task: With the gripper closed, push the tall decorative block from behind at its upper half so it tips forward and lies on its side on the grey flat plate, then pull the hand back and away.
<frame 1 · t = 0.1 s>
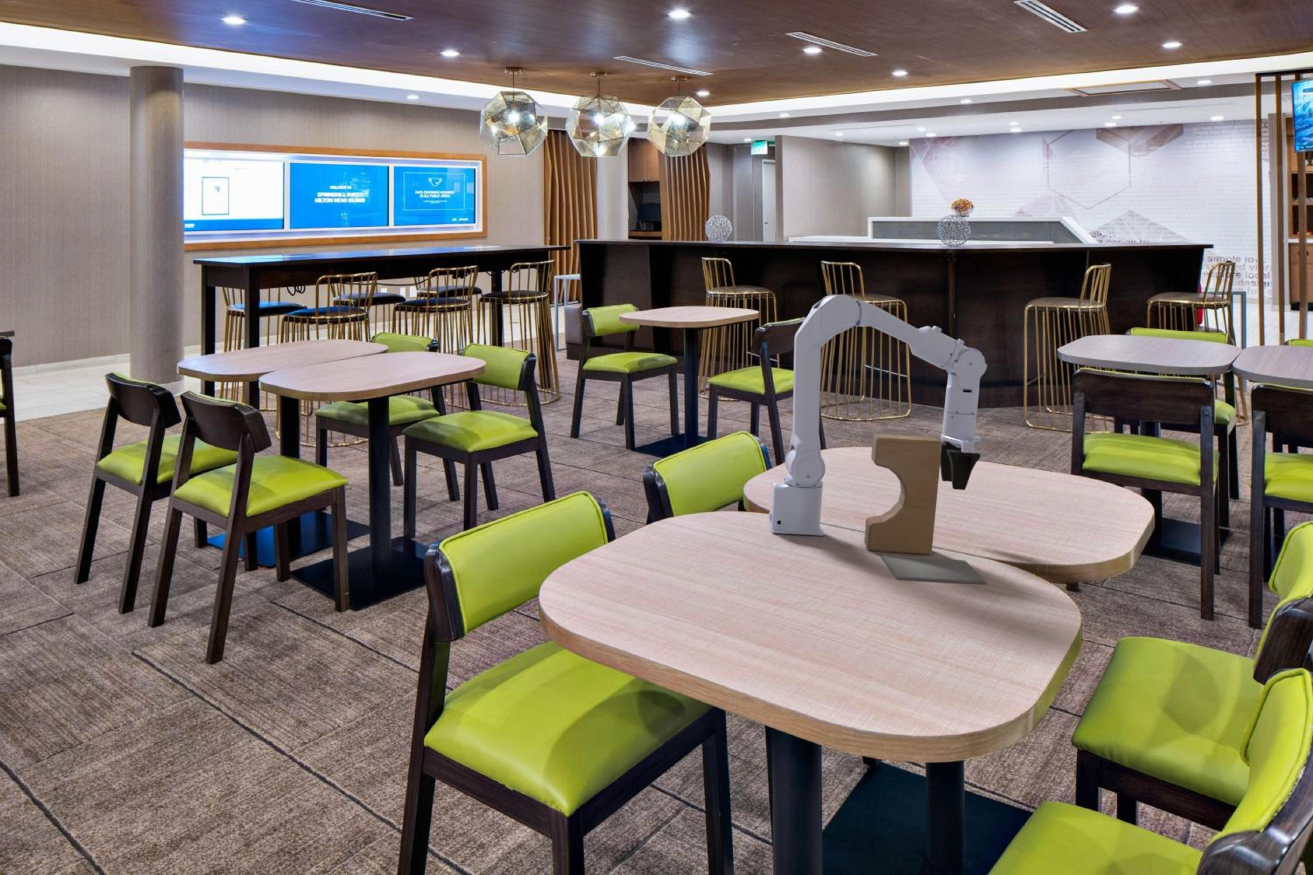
hand: (953, 485, 175), 10 cm above the table, tool pointing down, fingers open, 7 cm apart
decorative block: (897, 550, 166), on the table
grey flat plate: (932, 570, 154), on the table
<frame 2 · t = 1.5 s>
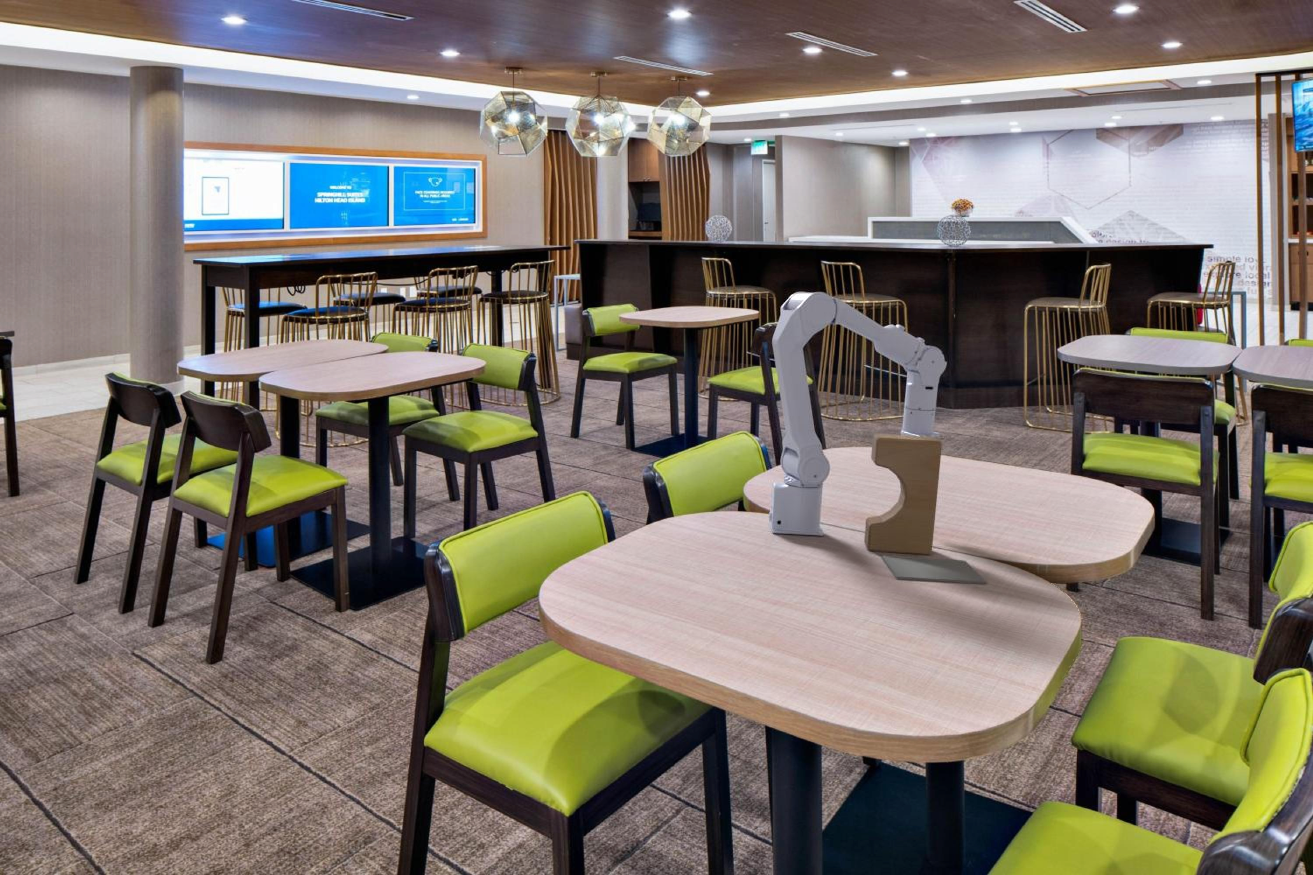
hand: (912, 479, 180), 10 cm above the table, tool pointing down, fingers closed
nothing on the table moved.
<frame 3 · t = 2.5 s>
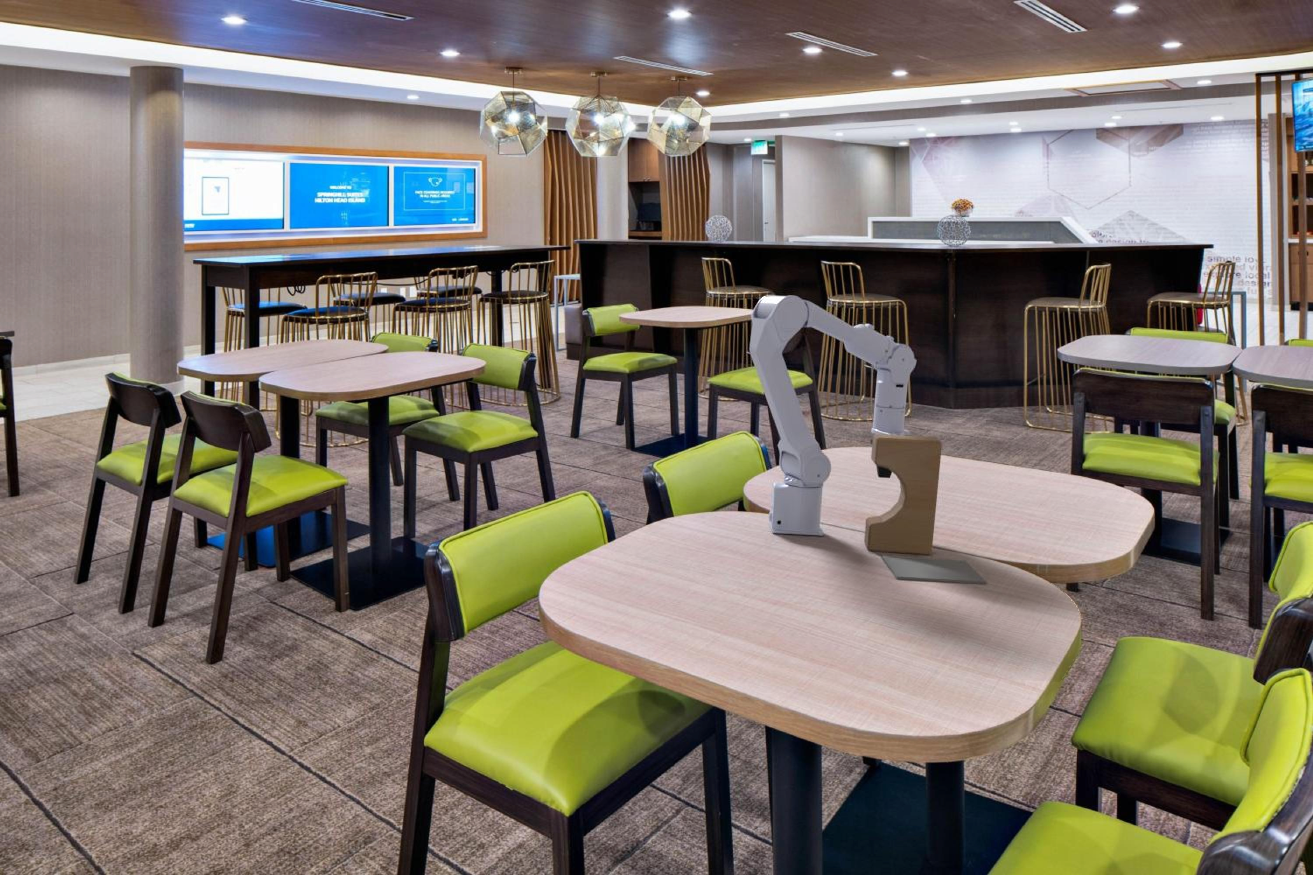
hand: (883, 477, 181), 10 cm above the table, tool pointing down, fingers closed
nothing on the table moved.
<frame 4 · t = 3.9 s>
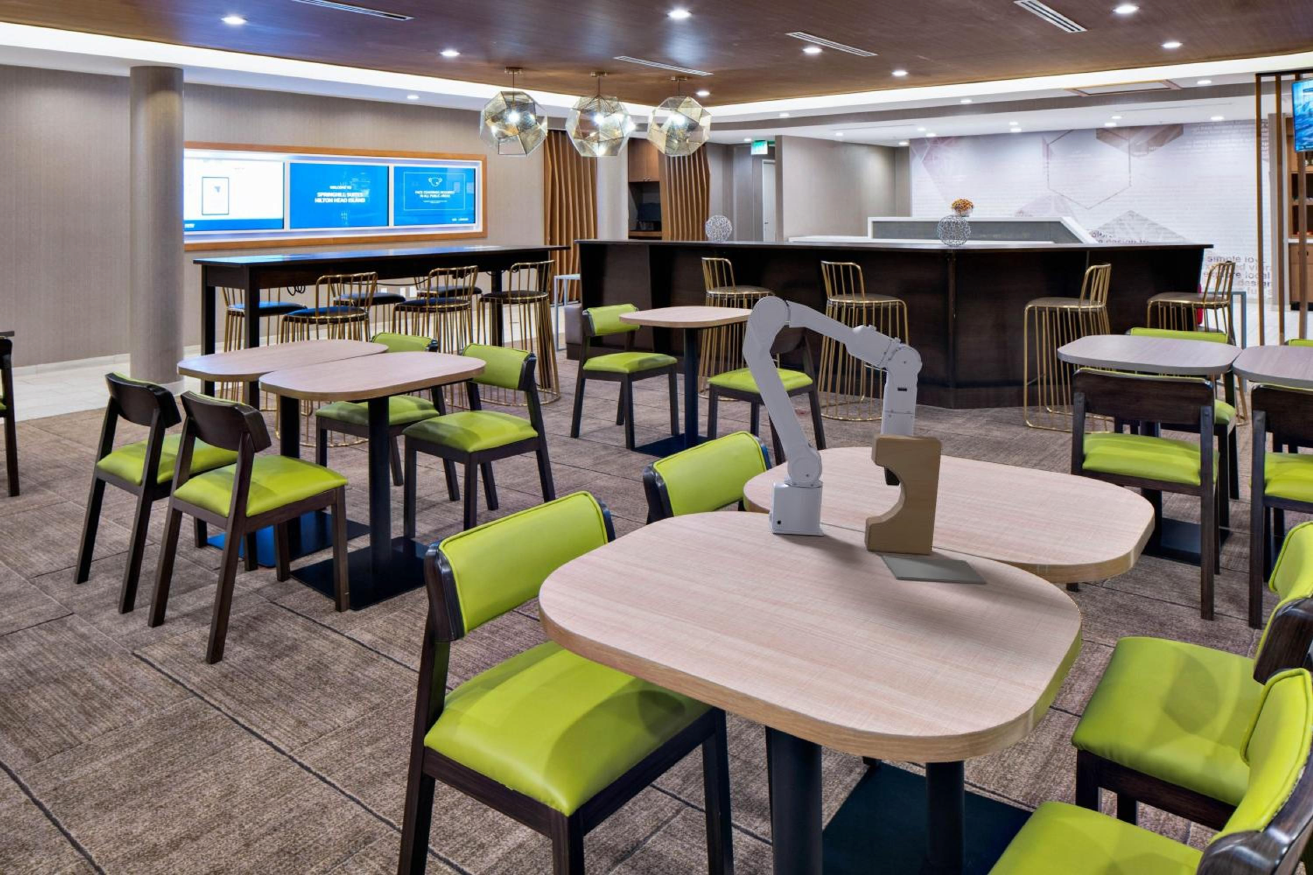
hand: (892, 485, 173), 10 cm above the table, tool pointing down, fingers closed
nothing on the table moved.
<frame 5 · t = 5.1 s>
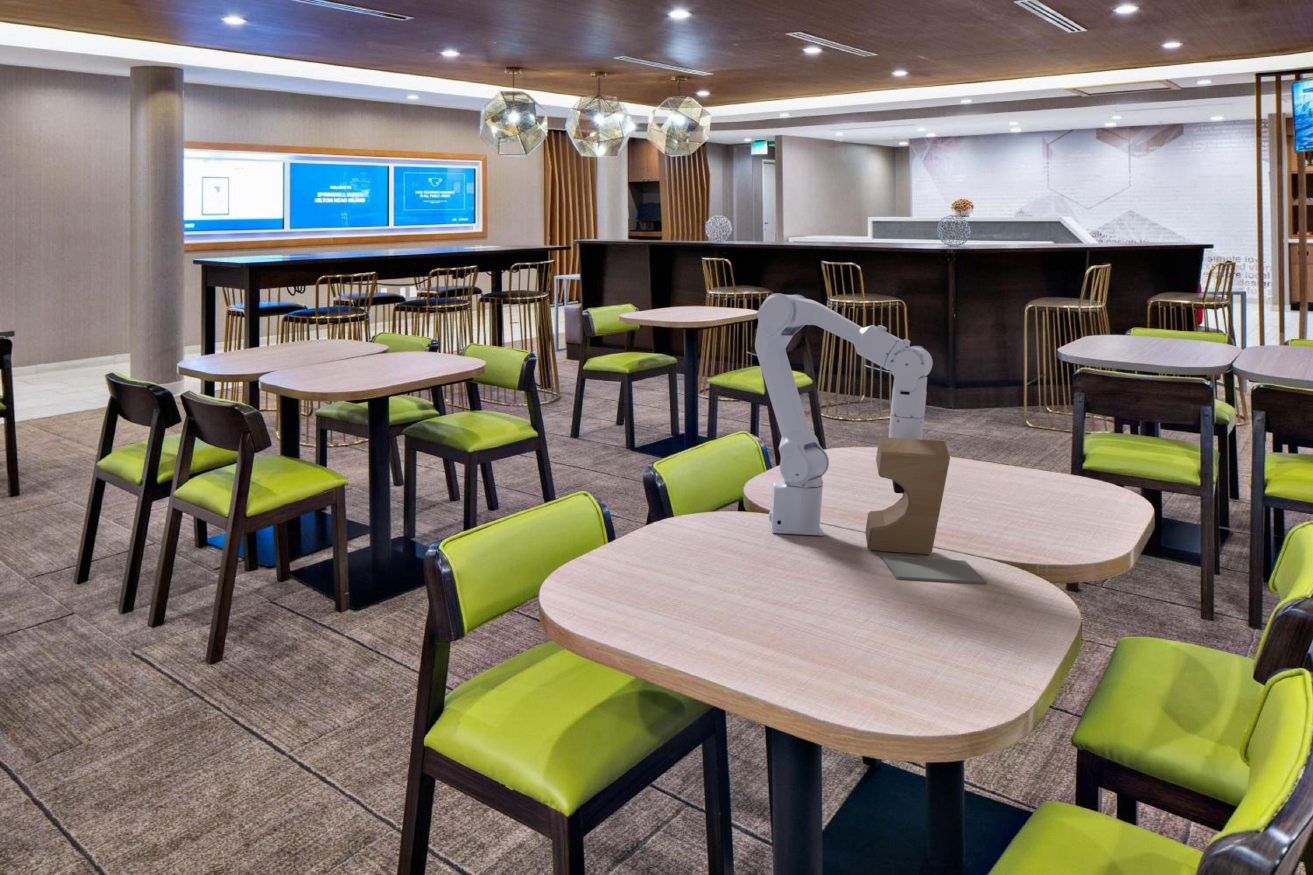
hand: (900, 492, 166), 10 cm above the table, tool pointing down, fingers closed
decorative block: (897, 544, 166), point 1 cm above the table
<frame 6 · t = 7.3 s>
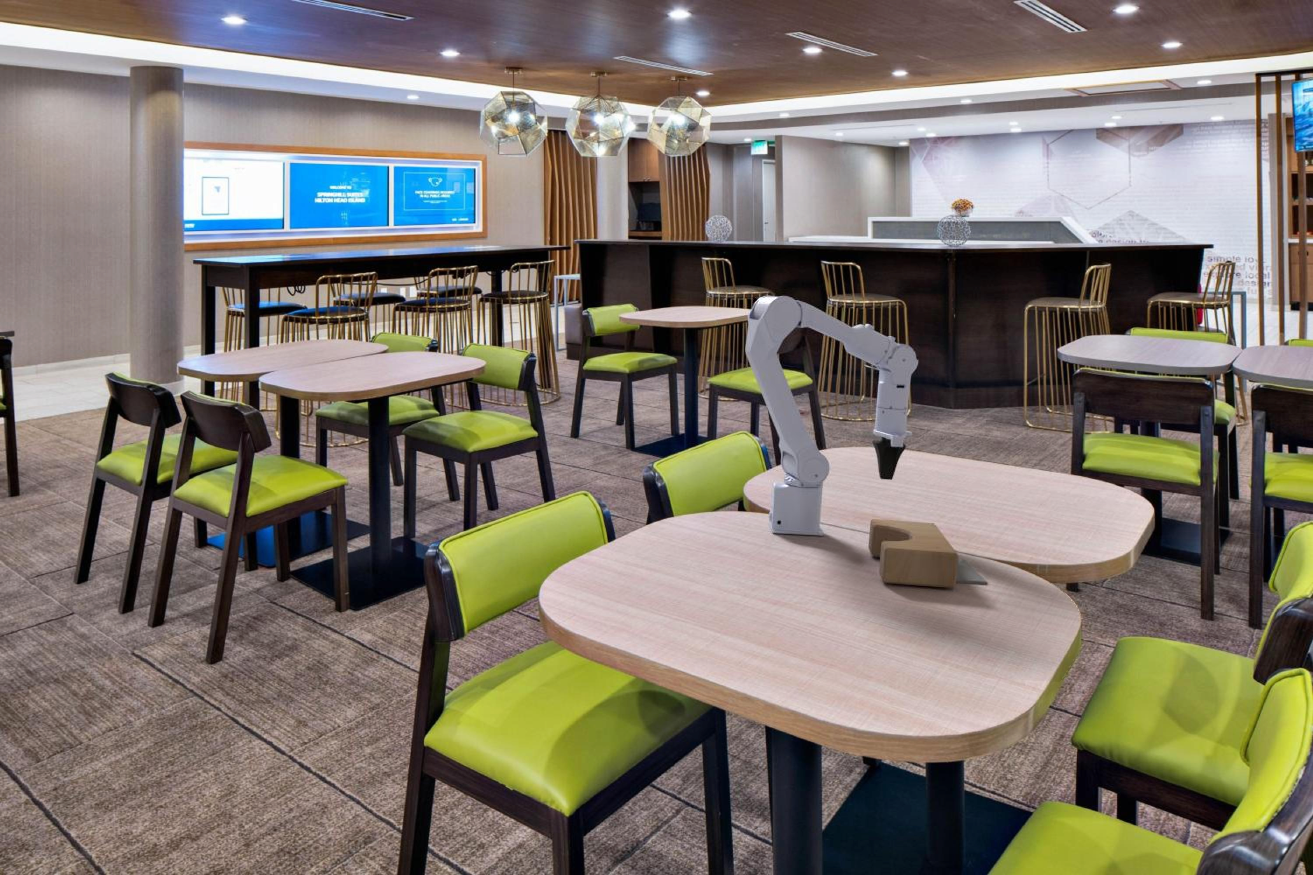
hand: (885, 478, 179), 10 cm above the table, tool pointing down, fingers closed
decorative block: (901, 535, 163), point 3 cm above the table, touching grey flat plate
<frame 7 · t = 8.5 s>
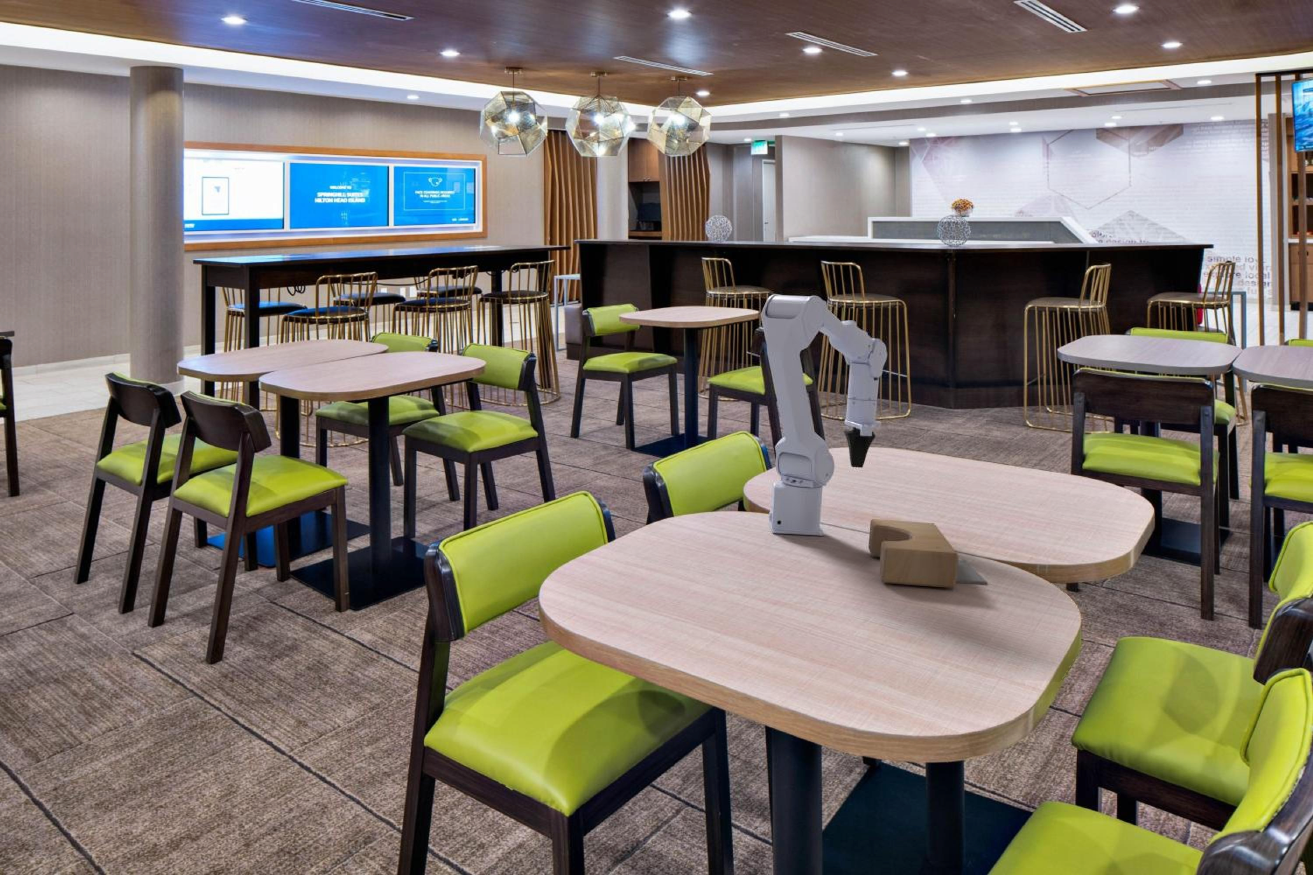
hand: (856, 466, 188), 10 cm above the table, tool pointing down, fingers closed
nothing on the table moved.
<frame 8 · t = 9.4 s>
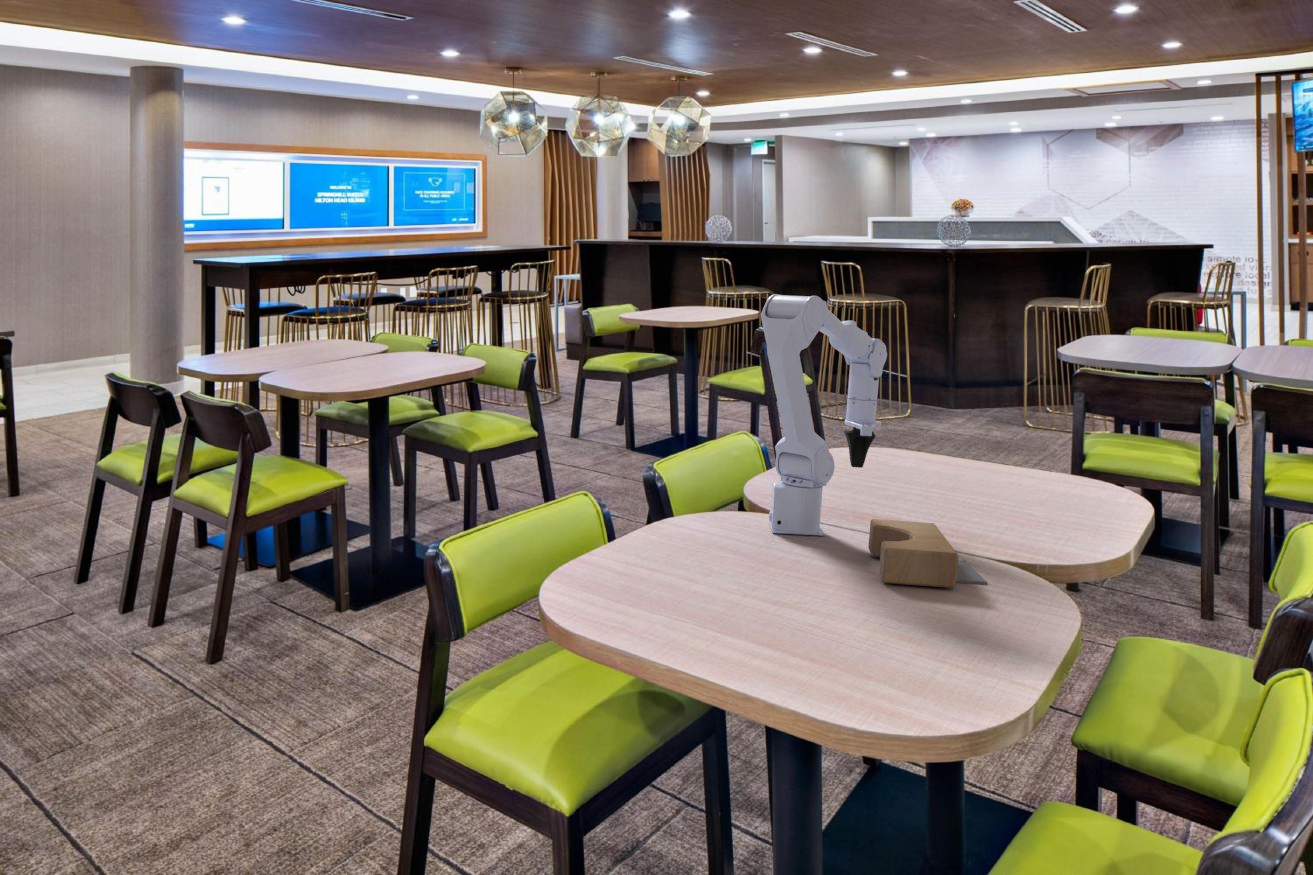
hand: (856, 466, 188), 10 cm above the table, tool pointing down, fingers closed
nothing on the table moved.
at the end: decorative block tilted 90°; decorative block touching grey flat plate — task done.
